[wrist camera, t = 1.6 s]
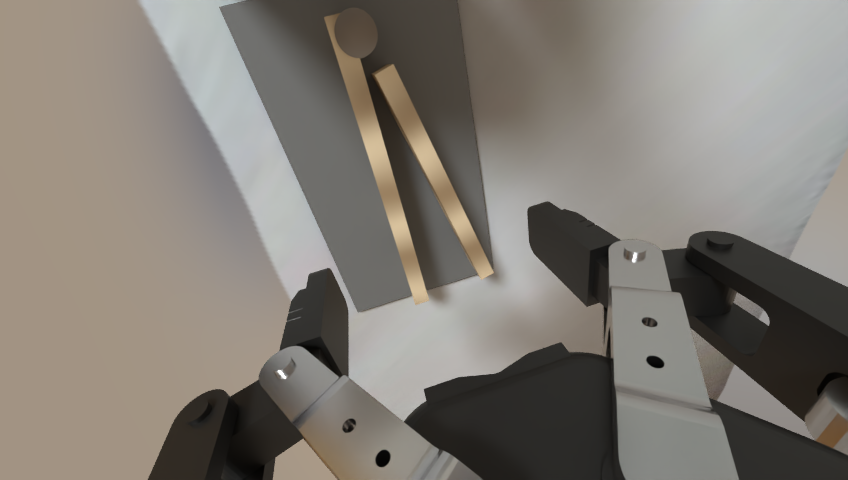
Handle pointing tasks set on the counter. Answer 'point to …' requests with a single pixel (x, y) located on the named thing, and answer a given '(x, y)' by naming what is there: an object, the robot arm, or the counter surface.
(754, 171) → the counter surface
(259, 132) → the counter surface
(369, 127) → the tongs
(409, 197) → the mat
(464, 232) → the bar
